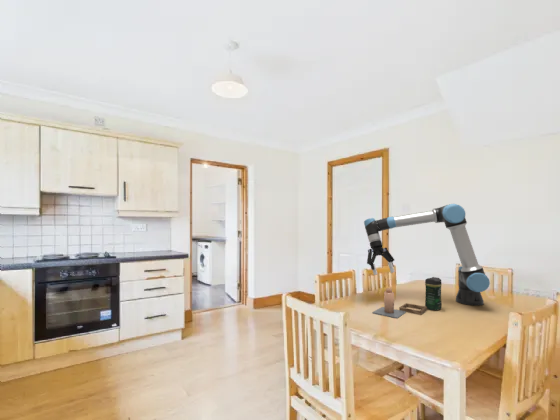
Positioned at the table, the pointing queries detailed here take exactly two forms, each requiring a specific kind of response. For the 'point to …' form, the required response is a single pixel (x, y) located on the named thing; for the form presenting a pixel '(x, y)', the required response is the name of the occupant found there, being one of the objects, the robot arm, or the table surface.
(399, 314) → the plate
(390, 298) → the terracotta spice bottle
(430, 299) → the coffee jar
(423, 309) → the walnut frame
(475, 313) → the table surface
